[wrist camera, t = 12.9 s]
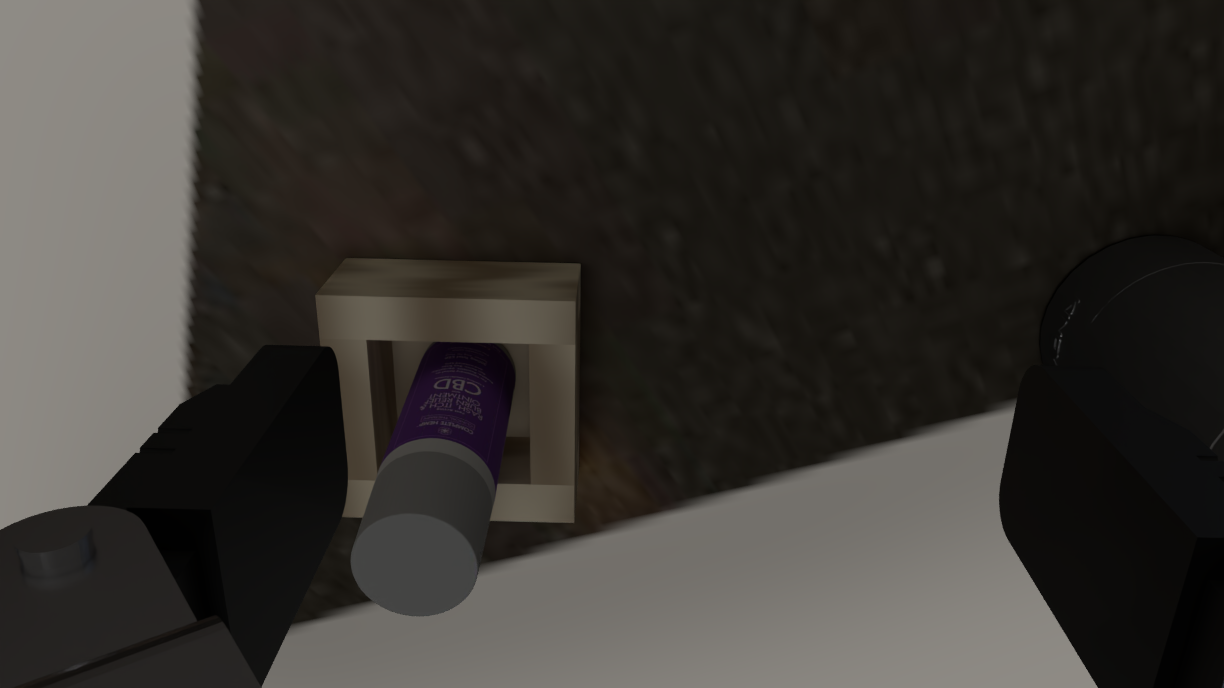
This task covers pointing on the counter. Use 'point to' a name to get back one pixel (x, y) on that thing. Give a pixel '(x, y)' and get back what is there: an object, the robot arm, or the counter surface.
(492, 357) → the container
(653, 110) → the counter surface
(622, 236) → the counter surface
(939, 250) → the counter surface
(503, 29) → the counter surface
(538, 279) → the socket block
